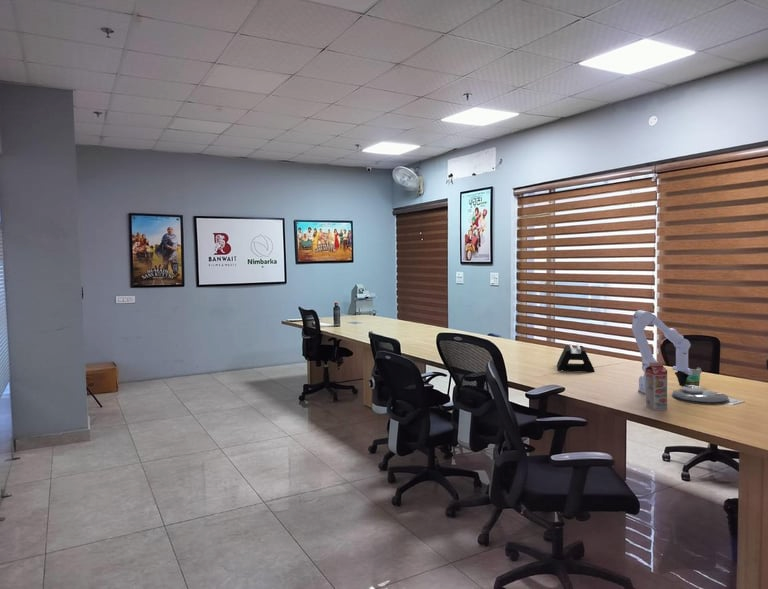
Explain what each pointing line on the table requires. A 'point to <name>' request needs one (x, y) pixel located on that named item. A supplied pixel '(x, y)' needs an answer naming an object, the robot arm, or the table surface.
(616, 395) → the table surface
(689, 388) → the cover
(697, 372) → the food container
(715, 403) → the turntable base
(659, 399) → the juice carton
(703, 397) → the turntable
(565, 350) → the device stand
